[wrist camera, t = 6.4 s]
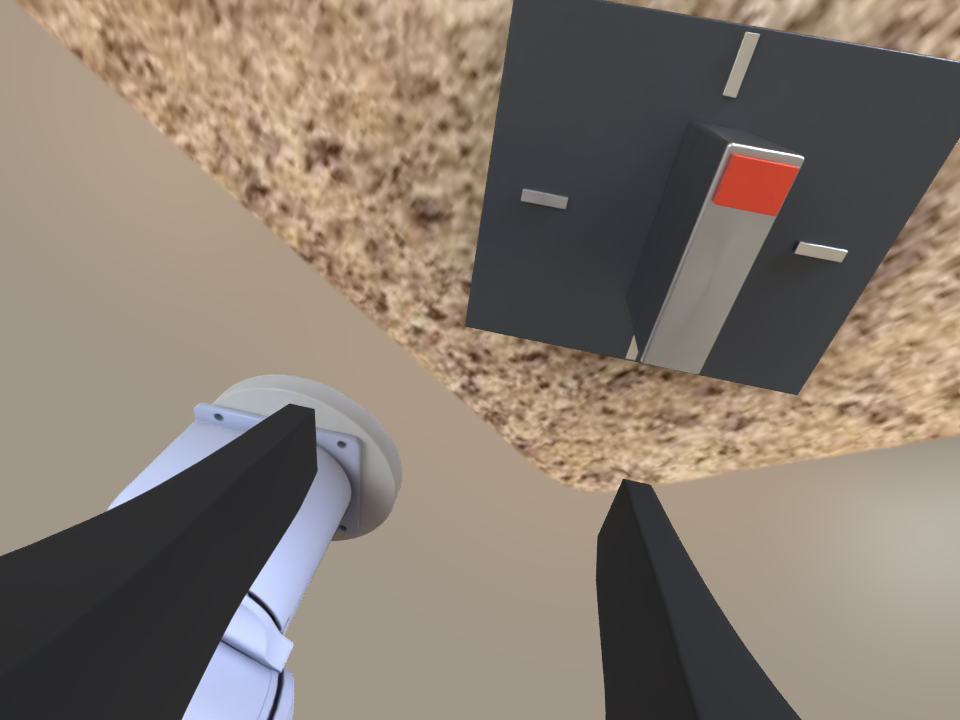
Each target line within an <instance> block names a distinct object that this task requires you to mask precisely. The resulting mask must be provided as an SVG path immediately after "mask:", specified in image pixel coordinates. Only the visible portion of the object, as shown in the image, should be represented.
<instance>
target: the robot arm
mask: <svg viewBox="0 0 960 720" xmlns="http://www.w3.org/2000/svg"><path fill="white" fill-rule="evenodd" d="M194 415H195V421H194V422H193V423H192V424H191V425H190V426H189V427H187V428H186V429H185V430H184V431H183V432H182V433H181V435H179V436H178V437H177V438H176V439H175V440H174V441H173V442H172V443H171V444H170V445H169V446H168V447H167V448H166V449H165V450H164V451H163V452H162V453H161V454H160V455H159V456H158V457H157V458H156V459H155V460H154V461H153V462H152V463H151V464H150V465H148V467H146V469H144V470H143V471H142V472H141V473H140V475H138V476H137V477H136V478H135V479H134V480H133V481H132V482H131V483H130V484H129V485H128V486H127V487H126V488H125V489H124V490H123V491H122V492H121V493H120V494H119V495H118V496H117V497H116V498H115V500H114V501H113V502H112V504H111V505H110V506H109V508H108V509H107V511H106V512H104V513H102V514H100V515H98V516H96V517H93V518H91V519H89V520H87V521H84V522H82V523H80V524H77V525H75V526H73V527H71V528H68V529H66V530H63V531H61V532H59V533H57V534H54V535H52V536H49V537H47V538H45V539H42V540H40V541H38V542H36V543H33V544H31V545H28V546H26V547H23V548H21V549H18V550H15V551H13V552H10V553H8V554H5V555H3V556H0V720H292V717H293V711H294V678H293V675H292V674H291V672H290V671H289V670H287V669H285V668H283V667H284V665H285V663H286V661H287V659H288V657H289V654H290V652H291V650H292V648H293V646H294V644H293V643H292V642H291V641H290V640H288V639H287V638H286V637H285V636H284V635H285V633H286V631H287V629H288V627H289V624H290V622H291V621H292V619H293V616H294V614H295V612H296V610H297V608H298V606H299V604H300V602H301V600H302V598H303V596H304V594H305V592H306V590H307V588H308V586H309V584H310V582H311V580H312V578H313V576H314V574H315V572H316V570H317V568H318V566H319V564H320V562H321V560H322V557H323V555H324V553H325V551H326V549H327V547H328V545H329V543H330V541H331V539H332V537H333V535H334V533H335V531H337V532H342V533H346V534H350V535H354V534H357V533H358V531H359V529H360V514H361V468H362V442H361V441H360V439H359V438H357V437H355V436H352V435H347V434H343V433H338V432H334V431H329V430H325V429H320V428H316V427H315V409H312V408H307V407H303V406H298V405H294V404H288V405H286V406H285V407H283V408H282V409H280V410H279V411H277V412H275V413H274V414H272V415H271V416H269V417H266V416H262V415H257V414H252V413H248V412H243V411H239V410H234V409H230V408H225V407H221V406H216V405H212V404H207V403H199V404H197V405H196V406H195V407H194ZM341 441H342V442H344V443H345V444H344V443H342V442H341ZM596 565H597V566H596V585H597V586H596V587H597V601H598V614H599V626H600V638H601V649H602V662H603V674H604V686H605V708H606V720H801V719H800V718H799V716H798V715H797V714H796V712H795V711H794V710H793V709H792V708H791V706H790V705H789V704H788V703H787V701H786V700H785V699H784V698H783V696H782V695H781V694H780V692H779V691H778V690H777V689H776V687H775V686H774V685H773V683H772V682H771V681H770V679H769V678H768V677H767V675H766V674H765V672H764V671H763V670H762V668H761V667H760V666H759V664H758V663H757V662H756V660H755V659H754V658H753V656H752V655H751V653H750V652H749V651H748V649H747V648H746V646H745V645H744V643H743V642H742V641H741V639H740V638H739V636H738V635H737V633H736V632H735V630H734V629H733V627H732V626H731V624H730V623H729V621H728V619H727V618H726V616H725V615H724V613H723V612H722V610H721V609H720V607H719V606H718V604H717V602H716V601H715V599H714V598H713V596H712V594H711V593H710V591H709V589H708V588H707V586H706V584H705V583H704V581H703V579H702V578H701V576H700V574H699V572H698V571H697V569H696V567H695V566H694V564H693V562H692V560H691V559H690V557H689V555H688V553H687V552H686V550H685V548H684V546H683V545H682V543H681V541H680V540H679V537H678V536H677V533H676V532H675V530H674V528H673V526H672V524H671V522H670V520H669V518H668V517H667V515H666V513H665V511H664V509H663V507H662V505H661V503H660V501H659V499H658V497H657V495H656V493H655V492H654V490H653V488H652V486H651V485H649V484H644V483H640V482H635V481H631V480H627V479H623V480H622V483H621V485H620V487H619V489H618V492H617V494H616V496H615V498H614V501H613V503H612V505H611V508H610V510H609V512H608V514H607V516H606V519H605V521H604V523H603V525H602V528H601V530H600V532H599V534H598V540H597V563H596Z"/></svg>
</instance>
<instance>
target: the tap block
mask: <svg viewBox="0 0 960 720" xmlns="http://www.w3.org/2000/svg"><path fill="white" fill-rule="evenodd" d="M690 121H697V122H702V123H707V124H712V125H718V126H723V127H728V128H733V129H738V130H744V131H747V132H749V133H752V134H754V135H756V136H759V137H761V138H763V139H766V140H768V141H770V142H773V143H775V144H777V145H780V146H782V147H784V148H787V149H789V150H791V151H794V152H796V153H799V154H801V155H802V156H804V162H803V164H802V166H801V168H800V170H799V172H798V174H797V176H796V178H795V180H794V182H793V184H792V186H791V188H790V190H789V192H788V195H787V197H786V199H785V201H784V203H783V205H782V207H781V209H780V211H779V213H778V215H777V217H776V219H775V221H774V223H773V225H772V227H771V229H770V231H769V233H768V235H767V237H766V239H765V241H764V243H763V245H762V247H761V250H760V252H759V254H758V256H757V258H756V260H755V262H754V264H753V266H752V268H751V270H750V272H749V274H748V276H747V278H746V280H745V282H744V284H743V286H742V288H741V290H740V292H739V294H738V296H737V298H736V300H735V302H734V305H733V307H732V309H731V311H730V313H729V315H728V317H727V319H726V321H725V323H724V325H723V327H722V329H721V331H720V333H719V335H718V337H717V339H716V341H715V343H714V345H713V347H712V349H711V351H710V353H709V355H708V357H707V360H706V362H705V364H704V366H703V368H702V370H701V372H700V373H699V374H697V375H702V376H707V377H712V378H717V379H722V380H726V381H731V382H736V383H741V384H746V385H751V386H755V387H760V388H765V389H770V390H775V391H779V392H784V393H789V394H794V395H798V394H799V392H800V390H801V389H802V387H803V386H804V384H805V383H806V381H807V379H808V378H809V376H810V375H811V373H812V371H813V370H814V368H815V367H816V365H817V363H818V362H819V360H820V359H821V357H822V356H823V354H824V352H825V351H826V349H827V348H828V346H829V344H830V343H831V341H832V340H833V338H834V336H835V335H836V333H837V332H838V330H839V329H840V327H841V325H842V324H843V322H844V321H845V319H846V317H847V316H848V314H849V313H850V311H851V309H852V308H853V306H854V305H855V303H856V302H857V300H858V298H859V297H860V295H861V294H862V292H863V290H864V289H865V287H866V286H867V284H868V283H869V281H870V279H871V278H872V276H873V275H874V273H875V271H876V270H877V268H878V267H879V265H880V263H881V262H882V260H883V259H884V257H885V256H886V254H887V252H888V251H889V249H890V248H891V246H892V244H893V243H894V241H895V240H896V238H897V236H898V235H899V233H900V232H901V230H902V229H903V227H904V225H905V224H906V222H907V221H908V219H909V217H910V216H911V214H912V213H913V211H914V209H915V208H916V206H917V205H918V203H919V202H920V200H921V198H922V197H923V195H924V194H925V192H926V190H927V189H928V187H929V186H930V184H931V183H932V181H933V179H934V178H935V176H936V175H937V173H938V171H939V170H940V168H941V167H942V165H943V163H944V162H945V160H946V159H947V157H948V156H949V154H950V152H951V151H952V149H953V148H954V146H955V144H956V143H957V141H958V140H959V138H960V61H956V60H951V59H945V58H939V57H933V56H927V55H921V54H915V53H909V52H903V51H898V50H892V49H886V48H880V47H874V46H868V45H862V44H856V43H851V42H845V41H839V40H833V39H827V38H821V37H815V36H809V35H804V34H798V33H792V32H786V31H780V30H774V29H768V28H762V27H757V26H751V25H745V24H739V23H733V22H727V21H721V20H715V19H710V18H704V17H698V16H692V15H686V14H680V13H674V12H668V11H662V10H657V9H651V8H645V7H639V6H633V5H627V4H621V3H615V2H610V1H604V0H514V1H513V8H512V14H511V21H510V28H509V34H508V41H507V48H506V54H505V61H504V68H503V75H502V81H501V88H500V95H499V101H498V108H497V115H496V121H495V128H494V135H493V141H492V148H491V155H490V161H489V168H488V175H487V182H486V188H485V195H484V202H483V208H482V215H481V222H480V228H479V235H478V242H477V248H476V255H475V262H474V268H473V275H472V282H471V288H470V295H469V302H468V309H467V315H466V322H465V326H466V327H471V328H475V329H480V330H485V331H490V332H495V333H500V334H504V335H509V336H514V337H519V338H524V339H529V340H533V341H538V342H543V343H548V344H553V345H557V346H562V347H567V348H572V349H577V350H582V351H586V352H591V353H596V354H601V355H606V356H611V357H615V358H620V359H625V360H630V361H635V362H640V363H642V362H641V361H640V358H639V353H638V349H637V345H636V340H635V336H634V332H633V327H632V323H631V319H630V315H629V310H628V306H627V302H626V298H627V295H628V292H629V289H630V287H631V284H632V281H633V278H634V275H635V273H636V270H637V267H638V264H639V261H640V258H641V256H642V253H643V250H644V247H645V244H646V242H647V239H648V236H649V233H650V230H651V227H652V225H653V222H654V219H655V216H656V213H657V211H658V208H659V205H660V202H661V199H662V196H663V194H664V191H665V188H666V185H667V182H668V179H669V177H670V174H671V171H672V168H673V165H674V163H675V160H676V157H677V154H678V151H679V148H680V146H681V143H682V140H683V137H684V134H685V132H686V129H687V126H688V124H689V122H690ZM644 364H645V363H644Z"/></svg>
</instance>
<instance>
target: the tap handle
mask: <svg viewBox="0 0 960 720" xmlns="http://www.w3.org/2000/svg"><path fill="white" fill-rule="evenodd" d="M803 162H804V156H802V155H801V154H799V153H796V152H794V151H791V150H789V149H787V148H784V147H782V146H780V145H777V144H775V143H773V142H770V141H768V140H766V139H763V138H761V137H759V136H756V135H754V134H752V133H749V132H747V131H744V130H738V129H733V128H728V127H723V126H718V125H712V124H707V123H702V122H697V121H690V122H689V124H688V126H687V129H686V132H685V134H684V137H683V140H682V143H681V146H680V148H679V151H678V154H677V157H676V160H675V163H674V165H673V168H672V171H671V174H670V177H669V179H668V182H667V185H666V188H665V191H664V194H663V196H662V199H661V202H660V205H659V208H658V211H657V213H656V216H655V219H654V222H653V225H652V227H651V230H650V233H649V236H648V239H647V242H646V244H645V247H644V250H643V253H642V256H641V258H640V261H639V264H638V267H637V270H636V273H635V275H634V278H633V281H632V284H631V287H630V289H629V292H628V295H627V298H626V302H627V306H628V310H629V315H630V319H631V323H632V327H633V332H634V336H635V340H636V345H637V349H638V353H639V358H640V361H641V362H642V363H645V364H649V365H654V366H659V367H663V368H668V369H673V370H677V371H682V372H687V373H691V374H696V375H697V374H699V373H700V372H701V370H702V368H703V366H704V364H705V362H706V360H707V357H708V355H709V353H710V351H711V349H712V347H713V345H714V343H715V341H716V339H717V337H718V335H719V333H720V331H721V329H722V327H723V325H724V323H725V321H726V319H727V317H728V315H729V313H730V311H731V309H732V307H733V305H734V302H735V300H736V298H737V296H738V294H739V292H740V290H741V288H742V286H743V284H744V282H745V280H746V278H747V276H748V274H749V272H750V270H751V268H752V266H753V264H754V262H755V260H756V258H757V256H758V254H759V252H760V250H761V247H762V245H763V243H764V241H765V239H766V237H767V235H768V233H769V231H770V229H771V227H772V225H773V223H774V221H775V219H776V217H777V215H778V213H779V211H780V209H781V207H782V205H783V203H784V201H785V199H786V197H787V195H788V192H789V190H790V188H791V186H792V184H793V182H794V180H795V178H796V176H797V174H798V172H799V170H800V168H801V166H802V164H803Z"/></svg>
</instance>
